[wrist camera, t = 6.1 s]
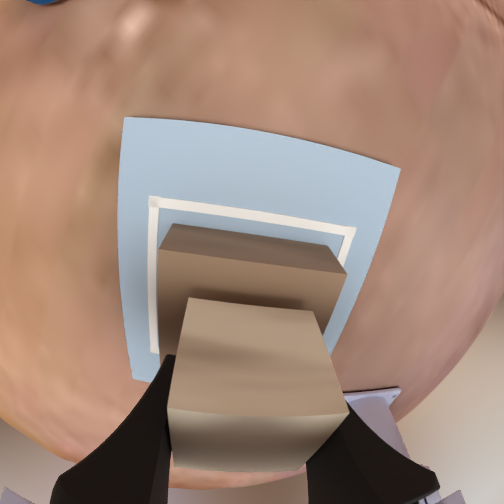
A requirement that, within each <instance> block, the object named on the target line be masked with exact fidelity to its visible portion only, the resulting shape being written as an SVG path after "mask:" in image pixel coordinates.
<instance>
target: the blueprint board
mask: <svg viewBox="0 0 504 504" xmlns="http://www.w3.org/2000/svg"><path fill="white" fill-rule="evenodd" d="M399 173H400V168H397V167H394V166H392V165H389V164H386V163H383V162H380V161H377V160H374V159H371V158H367V157H364V156H361V155H358V154H354V153H351V152H347V151H344V150H340V149H337V148H333V147H329V146H326V145H322V144H318V143H314V142H310V141H305V140H301V139H297V138H292V137H288V136H283V135H278V134H273V133H268V132H262V131H257V130H251V129H245V128H239V127H233V126H226V125H218V124H211V123H202V122H193V121H183V120H171V119H157V118H136V117H124V125H123V134H122V143H121V154H120V167H119V184H118V259H119V277H120V290H121V301H122V311H123V319H124V327H125V335H126V341H127V348H128V354H129V360H130V366H131V371H132V376H133V379H135V380H140V381H145V382H150V383H151V382H152V381H153V379H154V377H155V376H156V374H157V372H158V370H159V368H160V357H159V337H158V294H157V286H158V249H159V247H160V245H161V243H162V241H163V240H164V238H165V236H166V234H167V233H168V231H169V229H170V227H171V226H172V224H173V223H176V224H183V225H190V226H198V227H205V228H212V229H219V230H227V231H234V232H241V233H248V234H254V235H261V236H268V237H275V238H281V239H288V240H294V241H301V242H307V243H314V244H320V245H326V246H328V247H329V248H330V250H331V251H332V252H333V254H334V255H335V257H336V258H337V260H338V261H339V262H340V264H341V265H342V267H343V268H344V270H345V271H346V273H347V277H346V280H345V283H344V285H343V288H342V290H341V293H340V296H339V298H338V301H337V303H336V306H335V308H334V311H333V313H332V315H331V318H330V320H329V323H328V325H327V327H326V330H325V332H324V334H323V336H322V337H323V339H324V342H325V345H326V347H327V350H328V353H329V356H330V355H331V353H332V351H333V349H334V347H335V345H336V343H337V341H338V339H339V337H340V335H341V332H342V330H343V328H344V326H345V324H346V322H347V319H348V317H349V315H350V313H351V310H352V308H353V306H354V304H355V301H356V299H357V297H358V294H359V292H360V289H361V287H362V284H363V282H364V279H365V277H366V274H367V272H368V269H369V267H370V264H371V261H372V259H373V256H374V253H375V250H376V248H377V245H378V242H379V239H380V236H381V233H382V230H383V227H384V224H385V221H386V218H387V215H388V212H389V208H390V205H391V202H392V199H393V195H394V192H395V188H396V184H397V181H398V177H399Z"/></svg>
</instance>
